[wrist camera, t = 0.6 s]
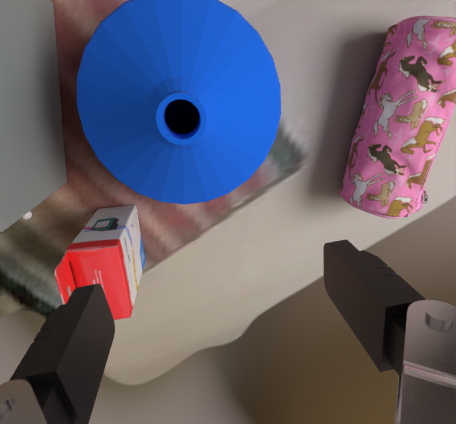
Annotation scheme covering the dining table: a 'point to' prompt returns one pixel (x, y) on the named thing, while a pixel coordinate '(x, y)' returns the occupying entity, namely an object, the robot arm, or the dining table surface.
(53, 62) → the case
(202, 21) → the blue funnel
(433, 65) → the pencil case
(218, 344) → the dining table surface
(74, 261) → the ink box
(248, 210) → the dining table surface
